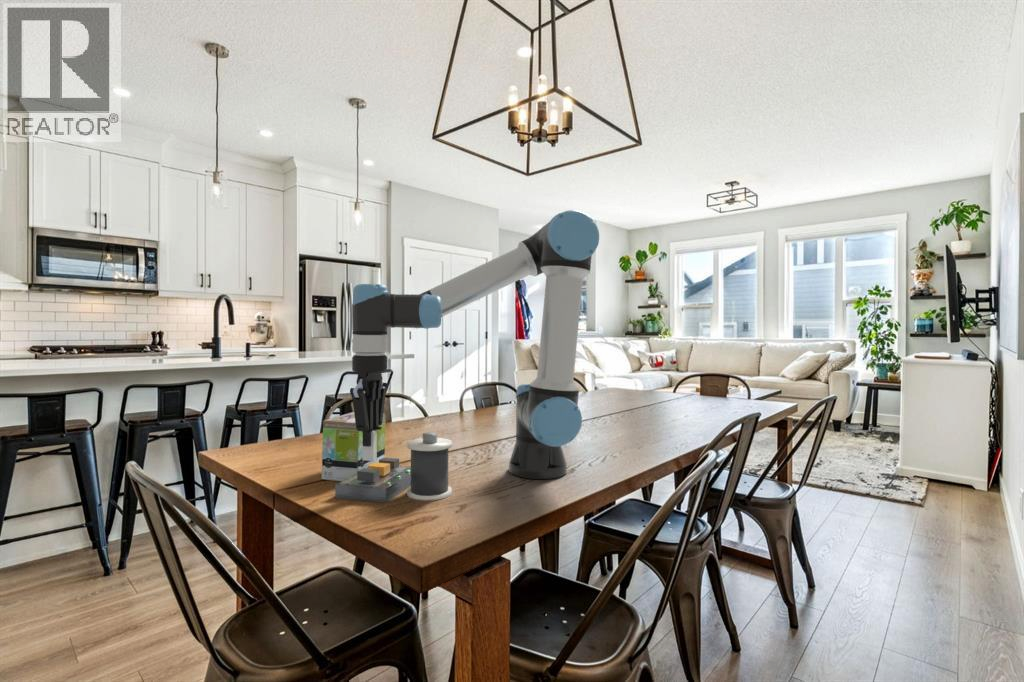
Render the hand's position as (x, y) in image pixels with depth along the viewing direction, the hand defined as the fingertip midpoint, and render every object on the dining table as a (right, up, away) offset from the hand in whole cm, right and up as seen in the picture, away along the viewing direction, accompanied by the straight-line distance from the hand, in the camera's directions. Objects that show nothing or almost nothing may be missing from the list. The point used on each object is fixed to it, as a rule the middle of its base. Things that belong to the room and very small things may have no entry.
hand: (369, 459), depth 115 cm
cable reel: (+13, -8, +2) cm, 15 cm away
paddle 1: (0, -3, 0) cm, 3 cm away
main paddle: (+1, -3, +4) cm, 6 cm away
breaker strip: (+1, -8, +5) cm, 9 cm away
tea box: (-8, -8, +17) cm, 21 cm away
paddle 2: (+2, -3, +9) cm, 10 cm away
